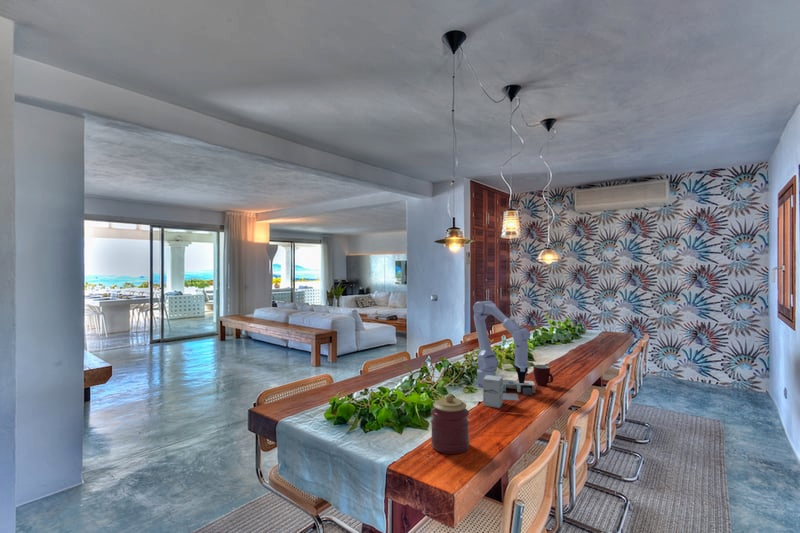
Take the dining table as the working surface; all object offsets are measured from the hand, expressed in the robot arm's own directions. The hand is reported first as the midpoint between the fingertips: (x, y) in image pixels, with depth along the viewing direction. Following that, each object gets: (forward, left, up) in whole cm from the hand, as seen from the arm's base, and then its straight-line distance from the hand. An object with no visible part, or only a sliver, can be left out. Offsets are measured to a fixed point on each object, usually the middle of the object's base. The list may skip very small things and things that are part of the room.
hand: (521, 383), depth 183 cm
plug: (+3, +5, -7) cm, 9 cm away
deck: (-6, -3, -7) cm, 9 cm away
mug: (+13, +19, -7) cm, 24 cm away
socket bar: (-1, +8, -7) cm, 10 cm away
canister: (-28, -58, -7) cm, 65 cm away
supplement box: (-13, -15, -7) cm, 21 cm away
